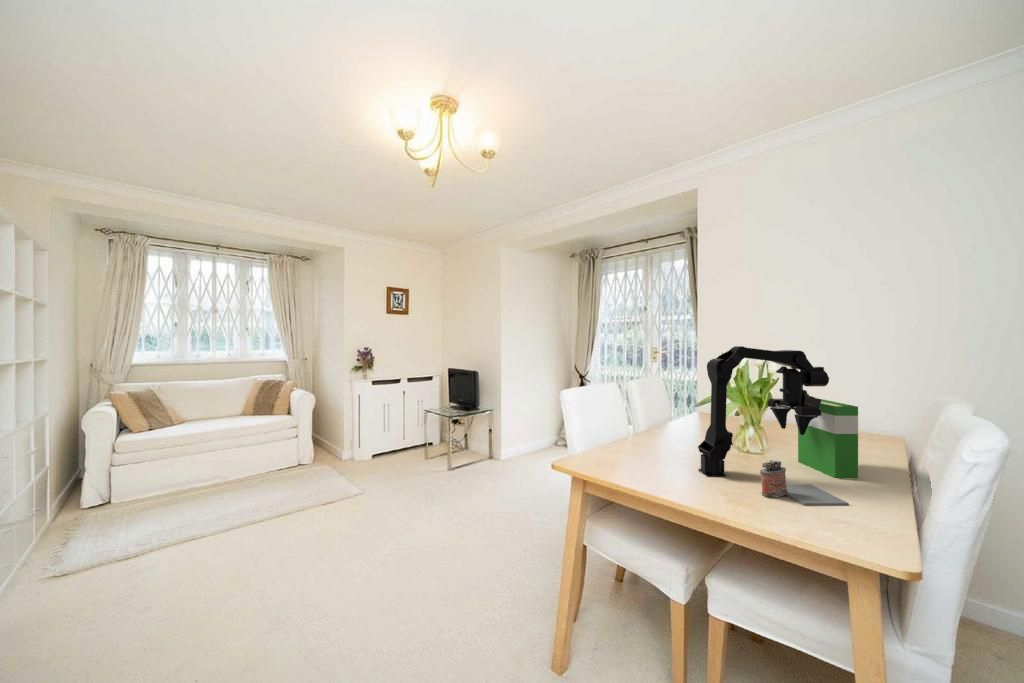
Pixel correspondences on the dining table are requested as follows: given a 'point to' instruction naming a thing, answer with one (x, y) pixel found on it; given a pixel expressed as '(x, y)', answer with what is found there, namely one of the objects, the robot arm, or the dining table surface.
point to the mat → (812, 495)
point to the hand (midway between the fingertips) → (792, 431)
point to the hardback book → (831, 441)
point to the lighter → (773, 479)
